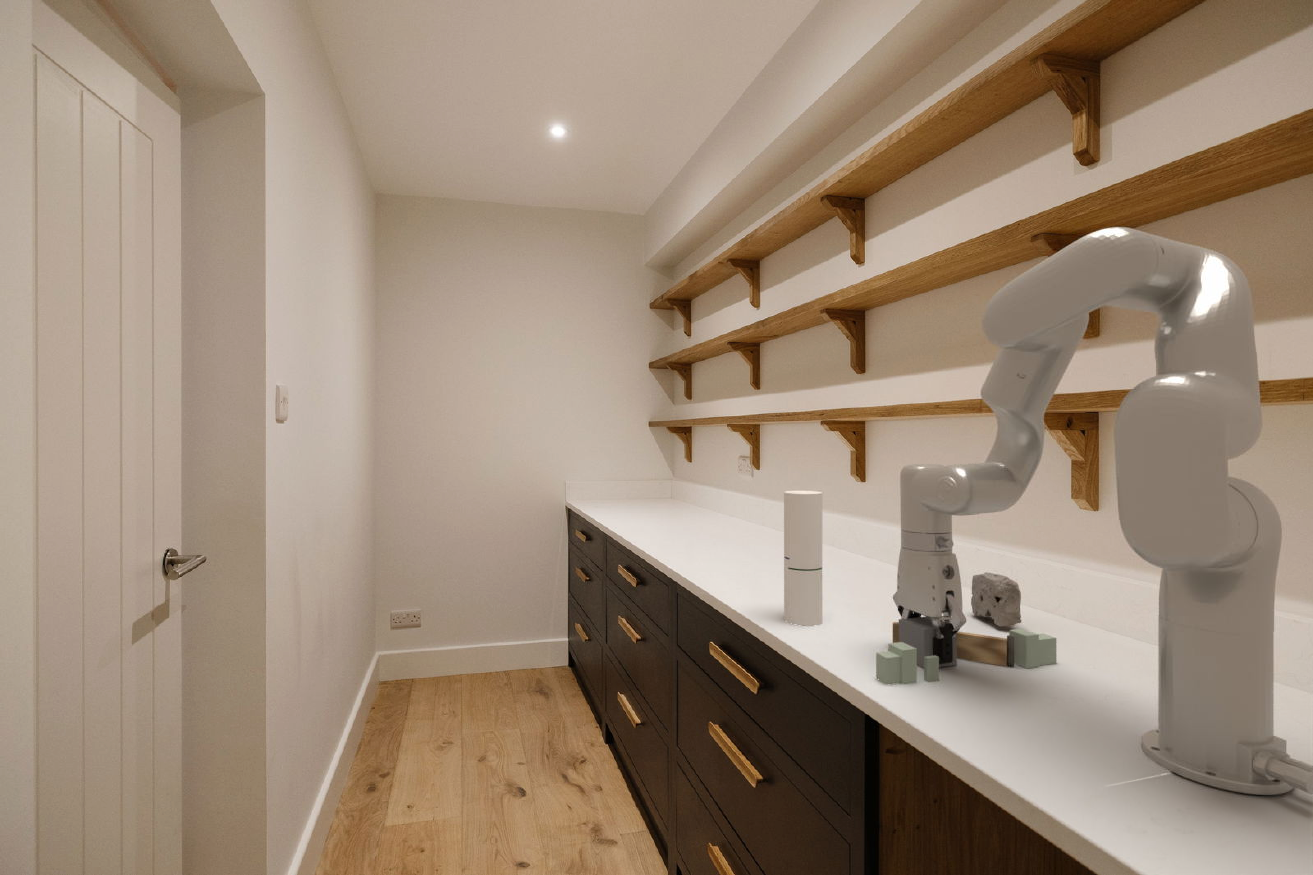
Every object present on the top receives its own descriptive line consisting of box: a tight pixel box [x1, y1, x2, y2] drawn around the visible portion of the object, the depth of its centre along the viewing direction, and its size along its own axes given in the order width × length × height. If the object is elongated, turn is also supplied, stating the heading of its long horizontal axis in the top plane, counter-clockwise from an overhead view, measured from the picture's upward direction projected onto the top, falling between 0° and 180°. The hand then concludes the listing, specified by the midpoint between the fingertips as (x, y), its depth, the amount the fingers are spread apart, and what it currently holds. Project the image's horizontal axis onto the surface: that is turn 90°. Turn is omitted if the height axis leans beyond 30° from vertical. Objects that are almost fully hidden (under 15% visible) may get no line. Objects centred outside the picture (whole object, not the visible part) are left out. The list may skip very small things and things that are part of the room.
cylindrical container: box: [783, 490, 823, 627], centre depth 123 cm, size 7×7×25 cm
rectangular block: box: [898, 616, 958, 669], centre depth 102 cm, size 6×6×6 cm
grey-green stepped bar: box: [875, 628, 1057, 685], centre depth 98 cm, size 3×31×5 cm, turn 107°
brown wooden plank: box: [892, 621, 1015, 668], centre depth 105 cm, size 18×3×5 cm, turn 57°
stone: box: [970, 572, 1022, 627], centre depth 123 cm, size 13×6×10 cm, turn 173°
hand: (927, 655), depth 102 cm, fingers closed on rectangular block, 6 cm apart
